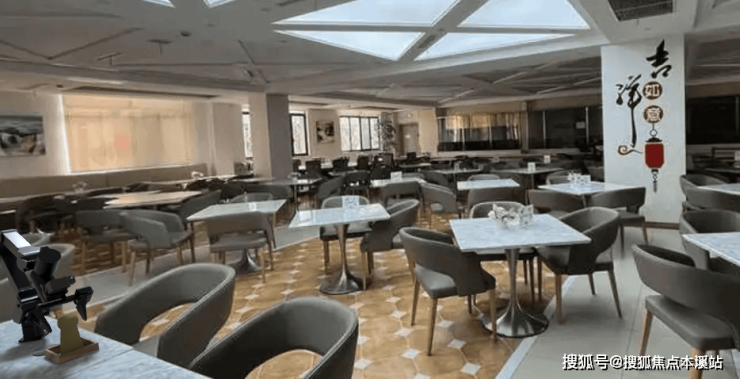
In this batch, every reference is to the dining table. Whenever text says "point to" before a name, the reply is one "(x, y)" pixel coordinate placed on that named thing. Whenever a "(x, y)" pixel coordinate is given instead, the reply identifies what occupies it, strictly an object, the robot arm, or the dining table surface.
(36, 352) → the grey round disc
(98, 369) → the dining table surface
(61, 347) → the cork
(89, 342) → the frame
